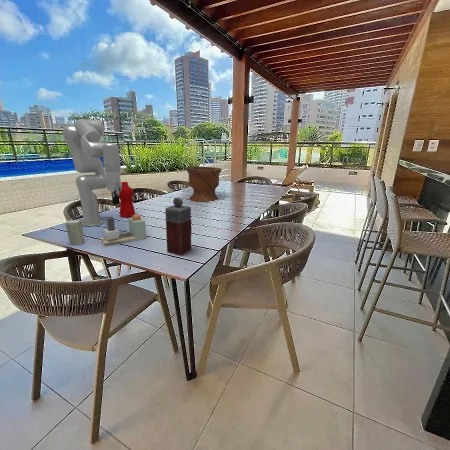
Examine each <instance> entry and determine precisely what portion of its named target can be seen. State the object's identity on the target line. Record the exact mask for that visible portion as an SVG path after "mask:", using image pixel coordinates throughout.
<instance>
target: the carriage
mask: <svg viewBox="0 0 450 450" xmlns="http://www.w3.org/2000/svg"><path fill="white" fill-rule="evenodd" d="M105 219H106V227H107V228H103V233H104V236H106V237H107V240H112V239H117V238H119V234H120V231H119V229H118V228H117V227H115V221H114V220H115V219H114V217H113V216H107V217H105Z"/></svg>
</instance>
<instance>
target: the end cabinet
mask: <svg viewBox="0 0 450 450" xmlns="http://www.w3.org/2000/svg"><path fill="white" fill-rule="evenodd" d="M128 226H129V232H131V234H132V235H133V236H134V237H135V238H137V237H142V236H146V237H147V234H146V233H147V230H146V221H145V219H143V218H142V217H141V220H137V221H133V220H132V217H129V218H128Z"/></svg>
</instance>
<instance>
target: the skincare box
mask: <svg viewBox="0 0 450 450" xmlns="http://www.w3.org/2000/svg"><path fill="white" fill-rule="evenodd" d="M64 224H65V228H66V233H67V237H68V238H67V239H68V242H69V244H70V245H83V243H85V241H86V239H85V233H84V228H83V225H82V220H81V219H78V220H77V219H76V220H73V219H72V220H71V219H70V220H68V221H66V222H64Z"/></svg>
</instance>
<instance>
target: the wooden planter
mask: <svg viewBox="0 0 450 450" xmlns="http://www.w3.org/2000/svg"><path fill="white" fill-rule="evenodd" d="M185 170H186V172H187V173H188V185H189V186H190V187H191V188H192V189H193V194H192V195H191V196H189V198H188V199H189V201H191V202H195V203H210V202H209V201H214V202H216V201H215V200H217V199H218V200H219V197H218V196H217V195H216V189H217V188H218V187H219V185H220V174H221V172H222V170H223V169H222V168H221V167H214V166H188V167H185ZM218 200H217V201H218Z"/></svg>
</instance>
